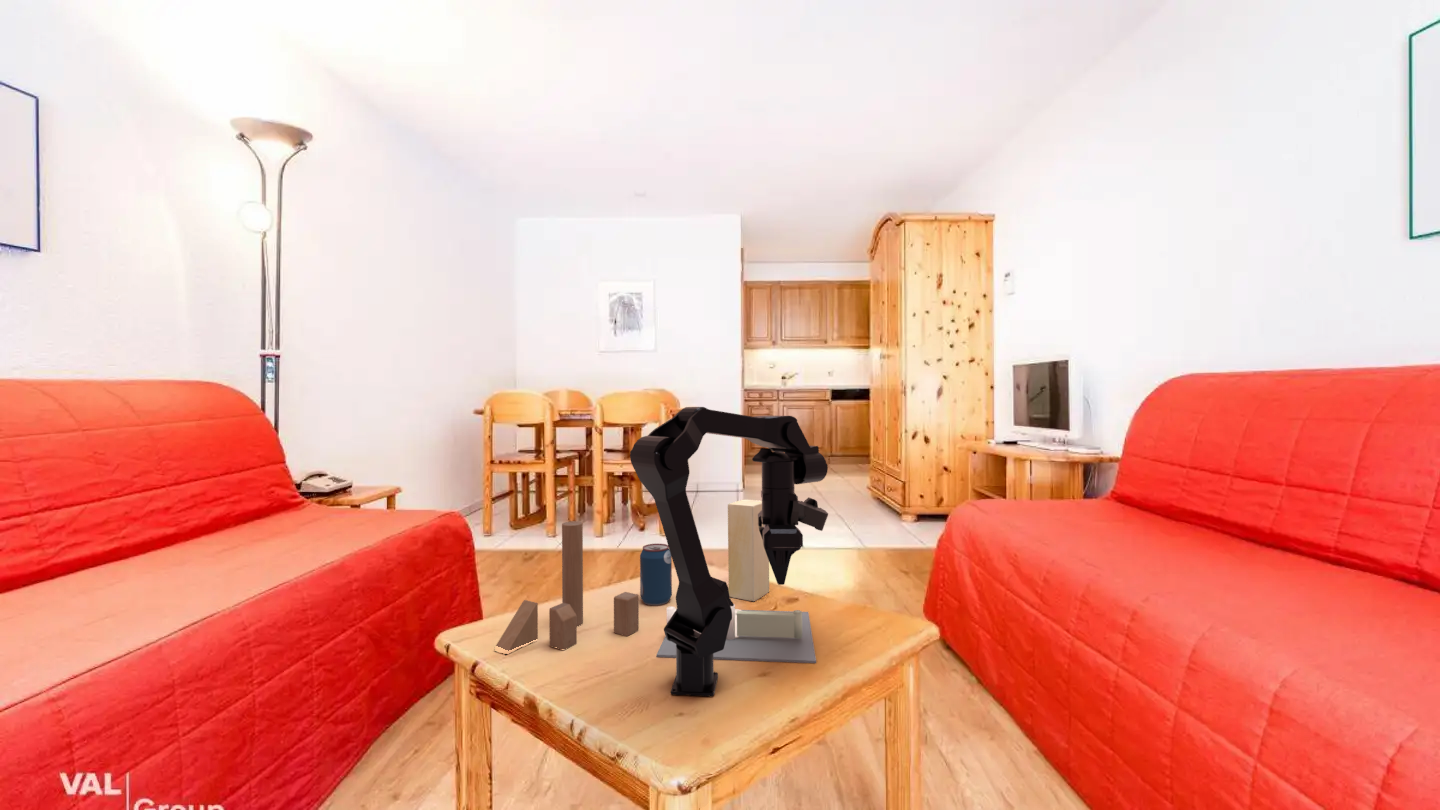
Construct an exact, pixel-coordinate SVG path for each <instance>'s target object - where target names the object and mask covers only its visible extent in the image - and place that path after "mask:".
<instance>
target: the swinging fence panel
mask: <svg viewBox="0 0 1440 810" xmlns="http://www.w3.org/2000/svg"><path fill="white" fill-rule="evenodd" d="M763 611H764V610H763ZM763 611H737V636H760V637H789V638H798V639H799V638H802V612H803V611H802V610H799V609H795V610H792V611H793V612H763Z"/></svg>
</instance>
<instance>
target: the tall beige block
mask: <svg viewBox="0 0 1440 810" xmlns="http://www.w3.org/2000/svg"><path fill="white" fill-rule="evenodd" d="M761 510H762V500H760V499H759V500H756V499H740V500H735V501H734V502H731V503H728V504H727V551H728V553H727V554H728V555H727V557H728V560H727V561H728V590H729V596H730V598H734V599H739V600H744V601H748V602H749V601H750V602H756V601H758V600H759V599H760V598H762V597H764V596H765V595H767V594H768V593H769V592H770V562H769V560H768V557H767V554H766V552H765V549H764V546H763V539H762V537H761V534H760V531H759V526H758V514H759V513H760V511H761ZM762 527H763V524H762Z"/></svg>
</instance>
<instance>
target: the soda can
mask: <svg viewBox="0 0 1440 810" xmlns="http://www.w3.org/2000/svg"><path fill="white" fill-rule="evenodd" d="M639 558H640V559H639V567H640V568H639V570H640V571H639V578H640V579H639V581H640V582H639V586H640V587H639V588H640V589H639V590H640V591H639V594H640V598H641V600H642V602H643V604H645V605H648V606H662V605H665V604H668V602H669V601H670V599H671V598H672V594H673V584H672V583H673V582H672V581H673V580H672V579H673V578H672V577H673V575H672V574H673V573H672V571H673V570H672V568H673V567H672V566H673V565H672V562H673V560H672V556H671V553H670V550H669V546H668V544H666V543H649V544H646V545H643V546H642V551H641V552H640V555H639Z"/></svg>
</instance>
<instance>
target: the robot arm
mask: <svg viewBox="0 0 1440 810" xmlns="http://www.w3.org/2000/svg"><path fill="white" fill-rule="evenodd" d="M706 434H709V435H718V436H725V437H733V438H740V439H746V440H748V441H749V442H750V443H752V444H755V445H756V446H757V445H758V446H760V447H761V448H760V450H758V452H757V453H755V455H753V457H752V462H756V463H761V490H760V497H761V501H762V510H761V511H760V513H759V514H758V526H759V531H760V534H761V537H762V539H763V546H764V549H765V552H766V554H767V557H768V560H769V566H770V567H771V569H772V573H773V575H774V578H775V580H776V583H777V585H779V586H780V585H782V586H784V585H785V583H786V579H787V575H788V571H789V566H790V562H791V559H792V556H793V555H794V554H795V553H796V552H798V551H800V550H801V548H802V547H804V542H803V541H804V538H803V536H804V535H803V532H802V531H801V530H800V529H799V528H798V527H797V526H799V523H801V524H805V525H807V526H810V527H812V528H814V529H815V530H817V531H819V532H820V531H821V532H822V531H823V530H824V527H825V525H826V522H827V519H828V516H829V513H828V512H827V511H826V510H825V509H824V508H821V507H819V506H818V505H819V504H818V501H817V500H816V499H815V498H811V497H807V498H806V499H805V500H804V501H802V500H799V498H798V495H797V494H796V493H795V485H805V484H810V483H818V482H822V481H823V480H824V479H825V478H826V476H827V473H828V470H829V469H828V467H829V465H828V464H827V460H826V458H825V457H824V455H823V454H822V453H821V452H820V446H818V445H810V444H809V442H808V440H807V437H805V434H804V433H803V431H802V428H801V426H800V425H799V423H798V418H796V417H795V416H793V415H757V416H752V415H751V416H750V415H744V414H739V413H733V412H726V411H720V410H714V409H708V408H707V407H704V406H686V407H684V408H681V410H679V411H678V412H676V414H675V415H674V416H673V417H672V418H669V420H667V421H665V422H664V423H662V424H660V425H659V426H657V427H656V428H654V429H653V430H651V432H650V433H649V434H647V435H645V436H641V437H640V438H639V439H637V440H636V441H635V443H634V444H633V446H632V449H631V450H630V453H629V458H630V463H631V466H632V468H633V470H634V472H635V474H636V476H637V477H638V480H639V481H640V483H641V484H642V485H643V486H644V488H645V489H646V490H647V491H648V492H649V494H650V495H651V496H652V498H653V500H654V502H655V507H656V510H657V512H658V516H659V519H660V523H661V526H662V529H663V533H664V536H665V540H666V543H667V545H668V546H669V550H670V553H671V559H672V562H673V566H674V570H675V573H676V576H677V579H678V585H677V590H676V595H675V603H676V608H675V610H676V611H675V612H674V614H673V615H672V617H671V619H670V620H669V622H668V623H667V622H666V624H665V626H664V628H663V632H664V635H665V636H666V638H667V640H668V641H671V642H673V643H675V644H676V658H675V664H676V665H675V666H676V667H675V671H676V673H675V674H676V675H675V677H674V680H673V682H672V686H671V688H670V695H676V696H679V695H680V696H696V697H697V696H699V697H700V696H701V697H714V695H715V692H716V689H717V685H718V684H717V682H718V679H719V672H716V671H714V659H713V653H716V652H718V651H721V650H723V649H724V646H725V642H726V637H727V633H728V629H729V625H730V621H731V620H732V609H731V606H734V604H735V603H734V602H733V601H732V600H731V597H730V596H729V585H728V584H727V582H726V581H724V580H721V579H718V578H715V577H713V576H711V573H710V571H709V570H710V569H709V567H708V564H707V561H706V560H707V559H706V556H705V554H704V550H703V545H702V543H701V539H700V536H699V533H698V528H697V525H696V521H695V517H694V515H693V512H692V508H691V504H690V500H689V496H688V494H687V485H688V482H689V481H688V480H689V476H690V465H689V460H690V458H692V456H694V454H695V453H696V452H697V451H698V450H699V448H700V445H701V443H702V440H703V438H704V436H705V435H706ZM762 524H763V527H762ZM694 630H695V631H694ZM696 631H697V632H696ZM698 632H699V633H698ZM700 633H701V634H700Z"/></svg>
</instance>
